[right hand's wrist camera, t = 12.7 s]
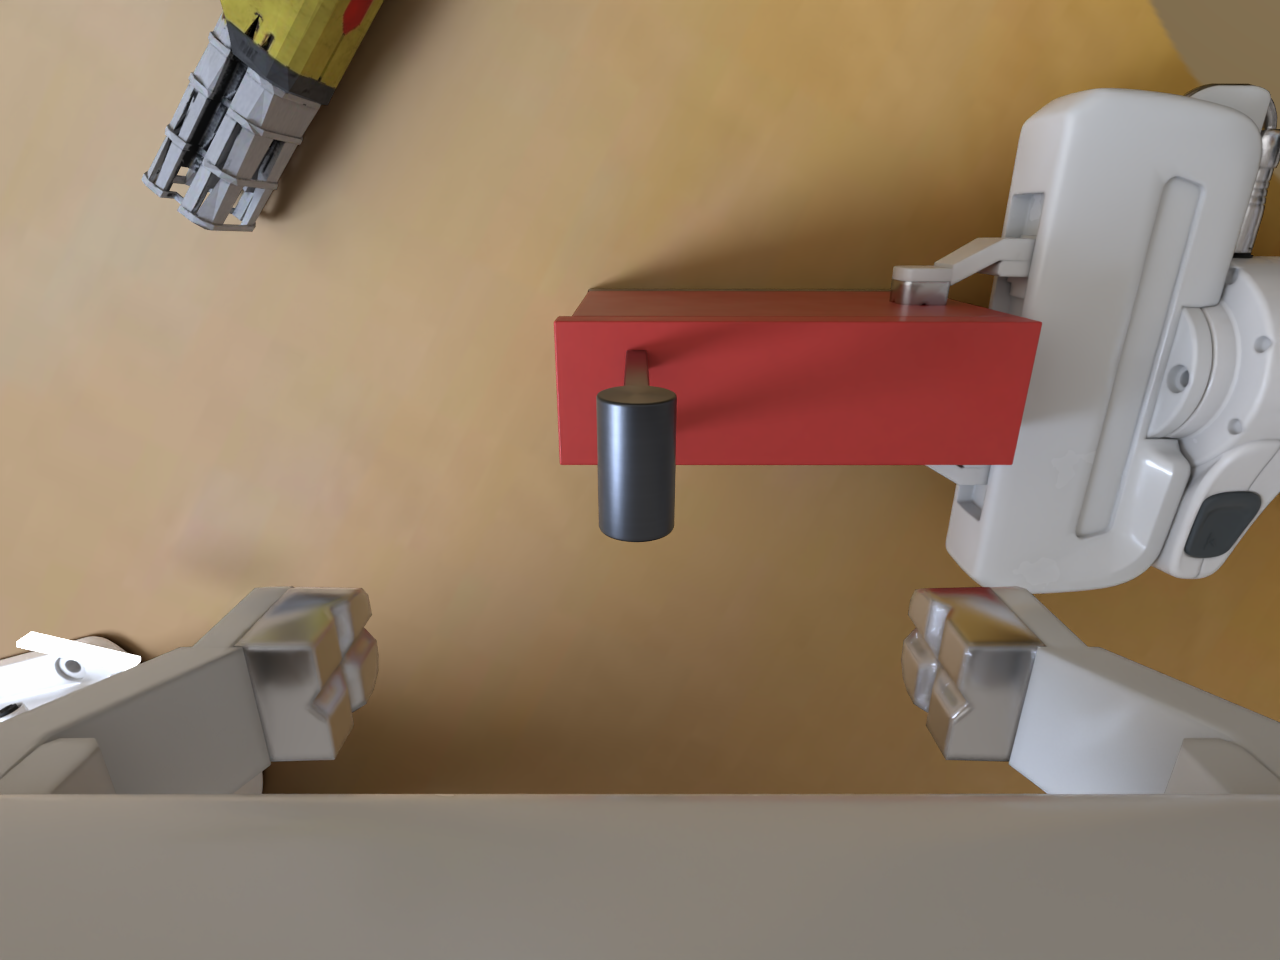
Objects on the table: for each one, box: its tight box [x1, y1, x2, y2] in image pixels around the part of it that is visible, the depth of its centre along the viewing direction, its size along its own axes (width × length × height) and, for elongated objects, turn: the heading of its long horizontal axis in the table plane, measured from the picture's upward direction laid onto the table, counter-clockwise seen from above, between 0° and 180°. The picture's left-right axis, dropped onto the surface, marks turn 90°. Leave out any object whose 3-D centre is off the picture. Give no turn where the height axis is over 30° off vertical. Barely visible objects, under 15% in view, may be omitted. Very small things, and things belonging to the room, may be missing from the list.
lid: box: [554, 316, 1042, 542], centre depth 20 cm, size 16×5×9 cm, turn 90°
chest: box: [572, 289, 1020, 317], centre depth 29 cm, size 16×5×10 cm, turn 90°
